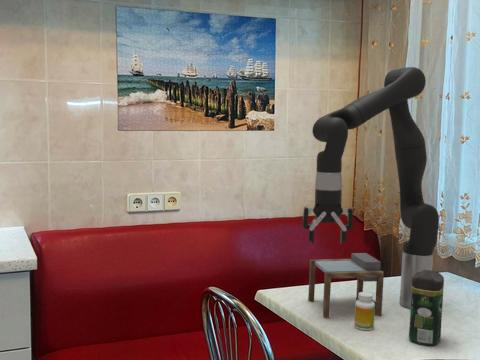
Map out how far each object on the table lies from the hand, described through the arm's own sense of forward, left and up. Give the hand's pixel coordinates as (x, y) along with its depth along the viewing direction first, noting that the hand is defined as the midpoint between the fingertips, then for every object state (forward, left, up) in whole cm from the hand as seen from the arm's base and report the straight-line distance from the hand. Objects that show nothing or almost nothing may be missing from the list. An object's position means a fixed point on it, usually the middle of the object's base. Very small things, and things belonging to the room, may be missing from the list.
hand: (327, 243), depth 155 cm
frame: (-10, -9, -23) cm, 26 cm away
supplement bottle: (-10, +7, -23) cm, 26 cm away
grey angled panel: (-10, -9, -13) cm, 19 cm away
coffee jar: (-23, +17, -23) cm, 36 cm away
